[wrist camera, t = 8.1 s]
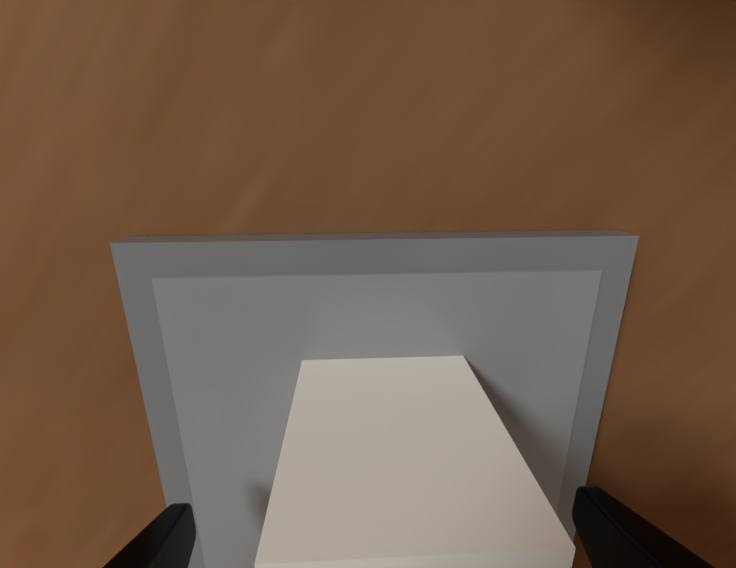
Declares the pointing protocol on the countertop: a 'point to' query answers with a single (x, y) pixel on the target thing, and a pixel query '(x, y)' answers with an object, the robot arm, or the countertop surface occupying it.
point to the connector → (403, 474)
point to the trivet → (361, 347)
